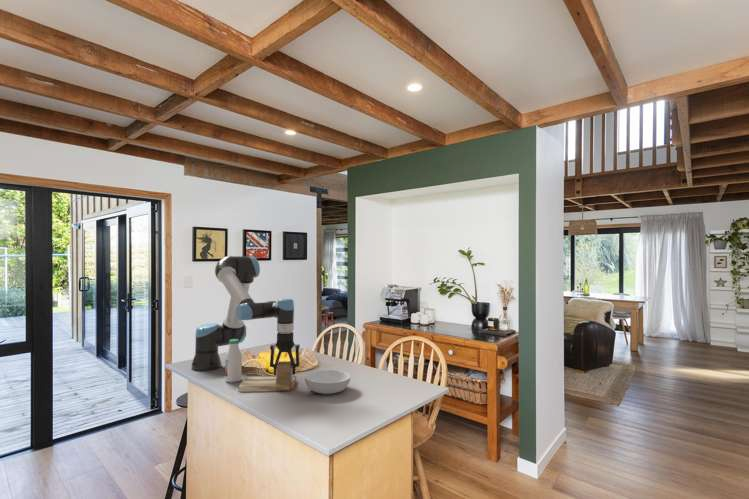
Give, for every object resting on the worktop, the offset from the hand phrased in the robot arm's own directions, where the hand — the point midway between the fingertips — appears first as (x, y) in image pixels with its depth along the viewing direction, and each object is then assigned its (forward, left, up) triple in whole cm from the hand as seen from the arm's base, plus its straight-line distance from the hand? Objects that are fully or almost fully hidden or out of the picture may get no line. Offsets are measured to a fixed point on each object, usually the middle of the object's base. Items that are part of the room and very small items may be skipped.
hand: (284, 381), depth 181 cm
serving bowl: (+5, +20, -3) cm, 21 cm away
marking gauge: (+1, 0, -2) cm, 2 cm away
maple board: (-3, -8, -3) cm, 9 cm away
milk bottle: (-13, -27, -3) cm, 30 cm away
